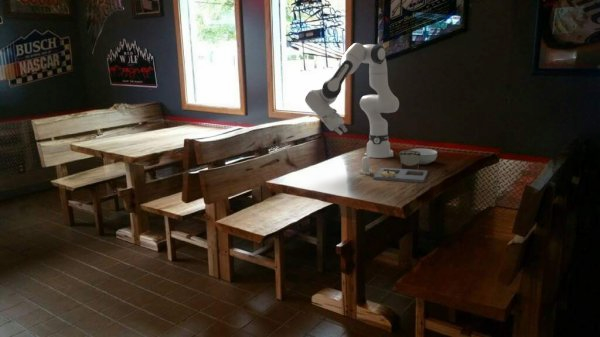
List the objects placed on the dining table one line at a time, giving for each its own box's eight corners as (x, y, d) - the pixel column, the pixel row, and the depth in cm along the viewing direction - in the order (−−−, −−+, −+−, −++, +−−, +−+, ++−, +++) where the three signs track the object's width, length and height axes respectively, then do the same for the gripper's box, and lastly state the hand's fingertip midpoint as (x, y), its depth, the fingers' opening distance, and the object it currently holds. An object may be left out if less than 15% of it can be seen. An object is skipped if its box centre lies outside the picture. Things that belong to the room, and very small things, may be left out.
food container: (421, 167, 285) (421, 150, 282) (420, 169, 279) (421, 152, 276) (399, 166, 288) (399, 149, 285) (398, 169, 282) (399, 152, 280)
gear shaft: (360, 170, 280) (360, 155, 278) (373, 171, 278) (373, 156, 275) (357, 174, 274) (357, 158, 271) (370, 175, 271) (370, 159, 269)
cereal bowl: (406, 165, 290) (406, 153, 288) (409, 159, 305) (409, 148, 304) (436, 166, 285) (436, 154, 283) (437, 160, 300) (437, 149, 299)
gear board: (381, 170, 280) (381, 161, 279) (427, 173, 271) (428, 164, 270) (373, 179, 262) (373, 170, 261) (423, 182, 253) (423, 173, 252)
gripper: (325, 113, 265) (342, 131, 264) (336, 108, 283) (352, 126, 282) (317, 121, 267) (334, 139, 266) (328, 116, 286) (345, 133, 285)
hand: (344, 132), depth 274 cm, fingers open, 8 cm apart
